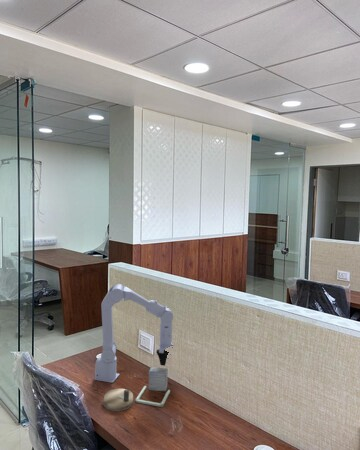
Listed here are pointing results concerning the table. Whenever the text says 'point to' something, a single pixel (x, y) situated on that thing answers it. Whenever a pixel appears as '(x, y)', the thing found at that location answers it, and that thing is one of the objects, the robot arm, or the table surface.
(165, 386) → the medicine box
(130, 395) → the disc
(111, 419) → the table surface
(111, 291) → the robot arm
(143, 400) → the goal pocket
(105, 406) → the base plate
